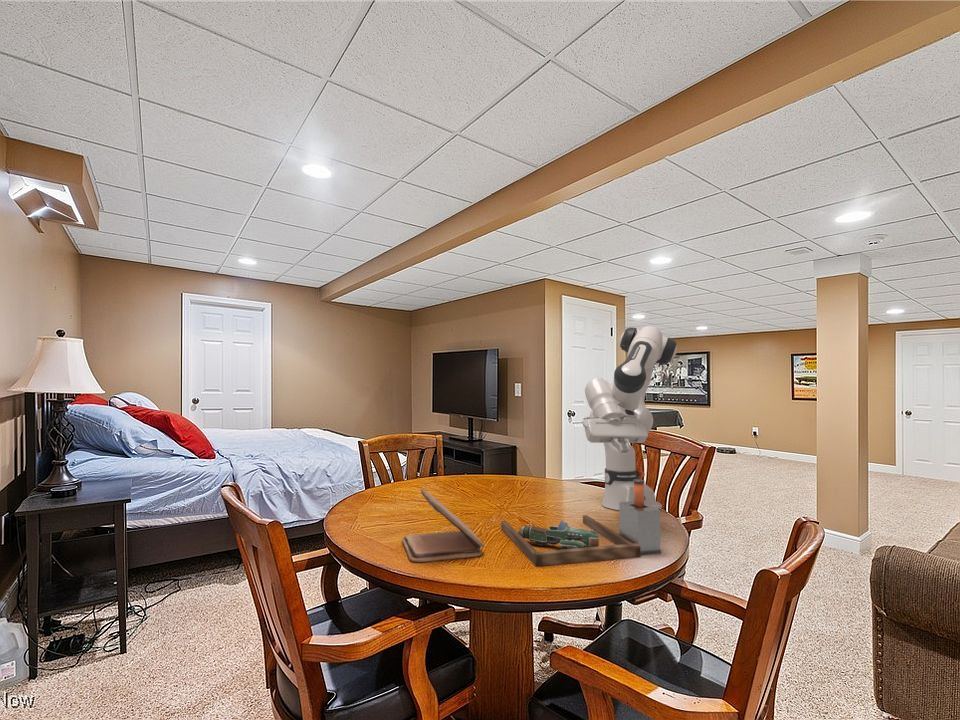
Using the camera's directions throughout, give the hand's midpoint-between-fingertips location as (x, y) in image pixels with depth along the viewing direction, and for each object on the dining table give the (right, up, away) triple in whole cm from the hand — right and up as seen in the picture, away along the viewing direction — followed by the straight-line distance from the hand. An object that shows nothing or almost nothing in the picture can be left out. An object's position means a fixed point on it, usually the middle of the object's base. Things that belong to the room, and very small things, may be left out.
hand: (624, 451), depth 148 cm
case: (-56, -27, -9) cm, 62 cm away
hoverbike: (-22, -27, -9) cm, 36 cm away
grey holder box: (+2, -26, -8) cm, 28 cm away
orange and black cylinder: (+2, -15, -8) cm, 17 cm away
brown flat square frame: (-19, -27, -3) cm, 33 cm away
